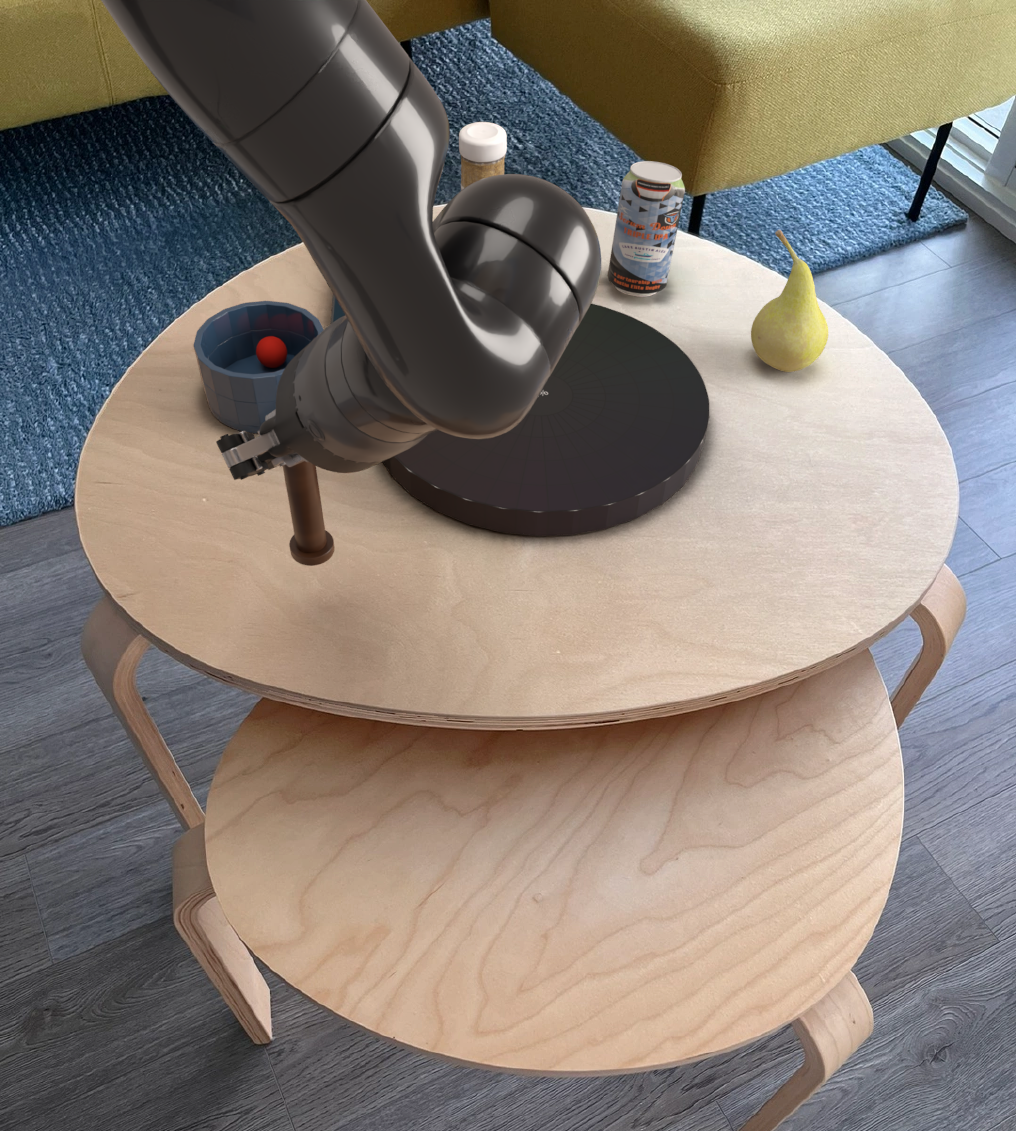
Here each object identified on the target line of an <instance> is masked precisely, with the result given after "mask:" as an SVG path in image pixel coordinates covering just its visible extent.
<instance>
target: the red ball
mask: <svg viewBox="0 0 1016 1131" xmlns="http://www.w3.org/2000/svg"><path fill="white" fill-rule="evenodd" d="M256 355H257V358H258V360H259V361H260V362H261V363H262V364H263V365H264V366H266V367H269V368H276V367H279V366H281V365H282V364H283V363H284V362H285V360H286V358H287V348H286V346H285V344H284V342H283V341H282V340H280V339H279V338H277V337H274V336H268V337H265V338H263V339H261V340H260V341H259V343H258V345H257V348H256Z"/></svg>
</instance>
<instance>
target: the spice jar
mask: <svg viewBox="0 0 1016 1131" xmlns="http://www.w3.org/2000/svg"><path fill="white" fill-rule="evenodd" d="M507 141H508V138H507V131H506V130H505V129H504V128H503V127H502V126H500V125H499V124H497V123H493V122H488V121H476V122H472V123H469V124H467V125H465V126H463V127H462V128H461V129H460V131H459V132H458V151H459V155H460V159H461V160H460V171H461V172H460V175H461V180H460V191H461V190H463V189H464V188H466V187H467V186H469V185H471V184H472V183H474V182H476V181H479V180H481V179H484V178H488V177H491V176H496V175H503V174H505V159H506V155H507V150H508V148H507V146H508V144H507V143H508V142H507Z"/></svg>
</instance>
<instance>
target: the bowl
mask: <svg viewBox="0 0 1016 1131" xmlns="http://www.w3.org/2000/svg"><path fill="white" fill-rule="evenodd" d="M323 330H324V328H323V325H322V323H321V321H320V319H319V318H318V317H317V316H316V315H314V314H313V313H312V312H310V311H309V310H308V309H306V308H303V307H301V306H298V305H295V304H291V303H290V302H282V301H274V300H260V301H249V302H242V303H239V304H236V305H233V306H230V307H226V308H224V309H222V310H220V311H219V312H217V313H215V314H214V315H212V316H210V317H209V318H207V319H206V320H205V321H204V322H203V323H202V324H201V326H200V327H199V328H198V329H197V331H196V333H195V336H194V341H193V350H194V354H195V358H196V362H197V366H198V371H199V374H200V379H201V383H202V387H203V392H204V396H205V398H206V402H207V405H208V409H209V410H210V412H211V414H212V415H213V416H214V417H215V419H216V420H218V421H219V422H221V423H222V424H223V425H225V426H227V427H228V428H231V429H233V430H236V431H239V432H242V431H246V433H253V434H258V431H259V430H260V426H261V425H262V423H263V422H265V421H266V420H265V417H266V415H268V414H269V413H271V412H272V411H274V410H275V409H276V394H277V388H278V384H279V381H280V378H281V376H282V373H283V371H284V370H285V368H286V366H287V365H288V364H289V362H290V361H291V360H292V359H293V358H294V357H295V356H296V355H297V354H298V353H299V352H300V351H301V350H302V349H304V348H305V347H306V346H307V345H308V344H309V343H310V342H311V341H312V340H313V339H314V338H316V337H317V336H318V335H319V334H320V333H321V332H322V331H323ZM268 336H274V337H277V338H279V339H280V340H282V341H283V342H284V344H285V346H286V348H287V358H286V360H285V362H284V363H283V364H282V365H281V366H279V367H276V368H269V367H266V366H264V365H263V364H262V363H261V362H260V361H259V360H258V358H257V355H256V348H257V345H258V343H259V341H260V340H261V339H263V338H265V337H268Z"/></svg>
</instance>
